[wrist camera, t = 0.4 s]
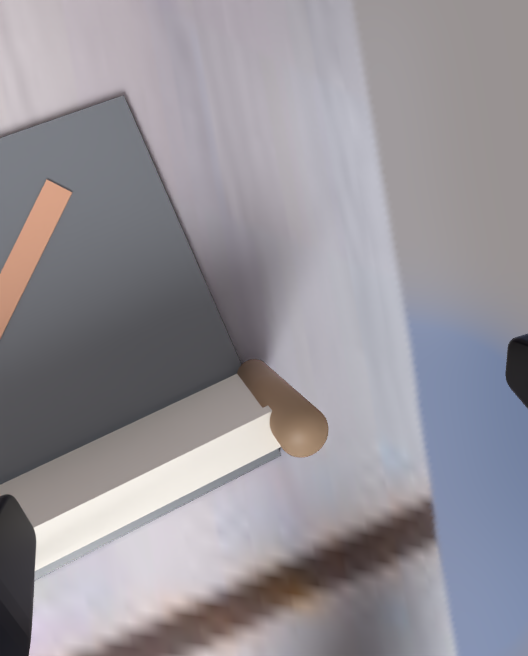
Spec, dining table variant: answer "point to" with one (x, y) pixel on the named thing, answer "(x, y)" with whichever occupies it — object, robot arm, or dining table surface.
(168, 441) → the white fence panel
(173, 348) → the card
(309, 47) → the dining table surface
